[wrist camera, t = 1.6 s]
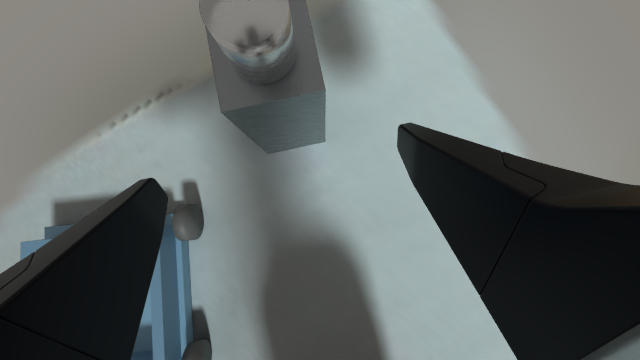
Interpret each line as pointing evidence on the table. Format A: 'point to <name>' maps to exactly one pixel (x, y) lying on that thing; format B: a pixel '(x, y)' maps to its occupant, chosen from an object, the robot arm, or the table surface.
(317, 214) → the table surface
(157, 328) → the chassis
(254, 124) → the square bottle with cap
